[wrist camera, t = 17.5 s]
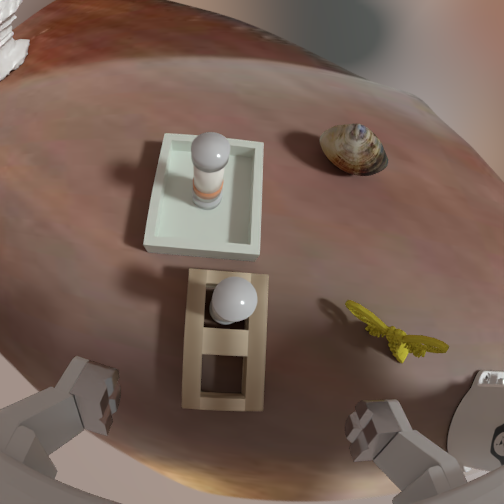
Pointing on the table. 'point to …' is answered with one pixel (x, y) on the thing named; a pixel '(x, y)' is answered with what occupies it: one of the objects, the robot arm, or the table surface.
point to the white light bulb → (233, 300)
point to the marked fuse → (209, 169)
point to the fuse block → (224, 345)
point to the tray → (206, 221)
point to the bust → (10, 39)
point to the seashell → (354, 149)
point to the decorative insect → (397, 335)
